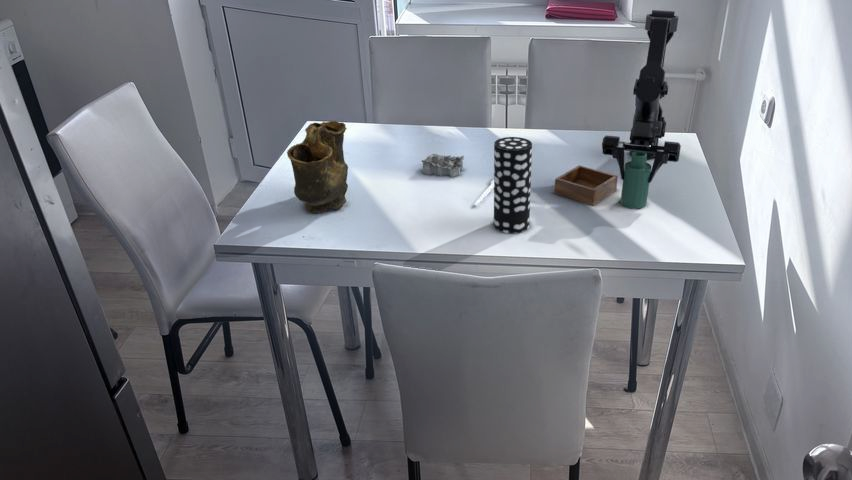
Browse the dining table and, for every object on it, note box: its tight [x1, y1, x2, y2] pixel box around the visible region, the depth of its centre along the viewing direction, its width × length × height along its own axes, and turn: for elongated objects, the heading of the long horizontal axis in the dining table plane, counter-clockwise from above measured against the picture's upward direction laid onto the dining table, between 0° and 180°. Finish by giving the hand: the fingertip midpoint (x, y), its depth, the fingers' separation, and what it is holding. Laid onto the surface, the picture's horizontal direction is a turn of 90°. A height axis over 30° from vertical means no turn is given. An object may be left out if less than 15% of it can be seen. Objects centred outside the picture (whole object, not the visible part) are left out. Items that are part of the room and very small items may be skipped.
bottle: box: [620, 151, 652, 210], centre depth 171 cm, size 6×6×13 cm
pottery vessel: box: [286, 120, 349, 214], centre depth 167 cm, size 25×11×20 cm, turn 178°
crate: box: [553, 164, 619, 206], centre depth 179 cm, size 12×12×4 cm
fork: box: [473, 178, 494, 207], centre depth 179 cm, size 3×20×2 cm, turn 160°
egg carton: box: [421, 153, 464, 178], centre depth 190 cm, size 11×8×4 cm
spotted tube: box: [493, 136, 533, 234], centre depth 158 cm, size 8×8×20 cm
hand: (635, 180), depth 170 cm, fingers closed on bottle, 6 cm apart
